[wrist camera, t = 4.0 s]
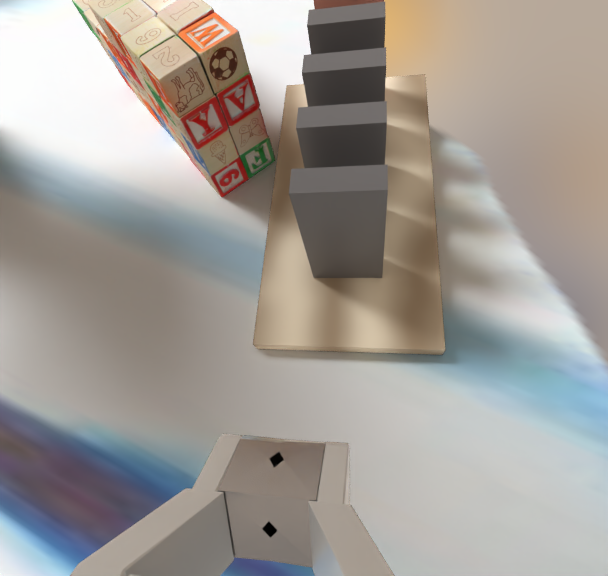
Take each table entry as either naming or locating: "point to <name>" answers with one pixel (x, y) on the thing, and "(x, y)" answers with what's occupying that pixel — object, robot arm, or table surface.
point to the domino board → (397, 250)
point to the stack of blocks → (188, 81)
